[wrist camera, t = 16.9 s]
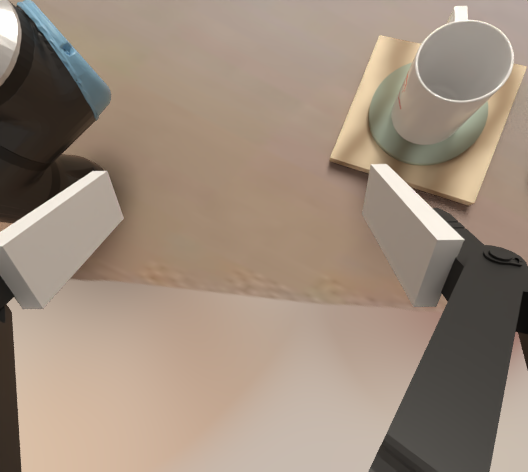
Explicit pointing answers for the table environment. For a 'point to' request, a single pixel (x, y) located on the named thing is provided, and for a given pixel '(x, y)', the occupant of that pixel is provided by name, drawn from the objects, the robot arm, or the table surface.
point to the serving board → (413, 155)
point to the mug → (451, 78)
